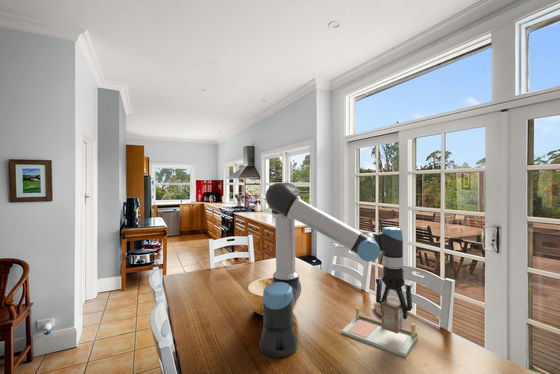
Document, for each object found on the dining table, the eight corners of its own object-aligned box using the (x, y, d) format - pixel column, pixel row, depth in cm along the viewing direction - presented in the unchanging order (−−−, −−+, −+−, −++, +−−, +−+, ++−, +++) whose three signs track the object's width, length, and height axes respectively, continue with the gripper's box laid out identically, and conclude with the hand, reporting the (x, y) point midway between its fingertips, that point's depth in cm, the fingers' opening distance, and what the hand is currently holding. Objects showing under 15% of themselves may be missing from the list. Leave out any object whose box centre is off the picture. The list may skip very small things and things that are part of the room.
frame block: (397, 333, 105) (397, 307, 104) (381, 328, 108) (381, 303, 108) (405, 323, 112) (405, 298, 112) (390, 318, 116) (390, 295, 116)
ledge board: (417, 338, 113) (417, 323, 113) (405, 357, 101) (405, 340, 101) (357, 318, 130) (357, 305, 130) (341, 333, 118) (341, 318, 118)
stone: (380, 307, 142) (380, 299, 142) (393, 321, 128) (393, 311, 128) (370, 307, 142) (370, 299, 142) (382, 321, 127) (382, 312, 127)
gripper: (421, 268, 107) (422, 327, 107) (373, 260, 119) (374, 313, 119) (416, 273, 101) (417, 335, 101) (366, 264, 114) (367, 320, 114)
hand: (393, 323), depth 110 cm, fingers closed on frame block, 6 cm apart
